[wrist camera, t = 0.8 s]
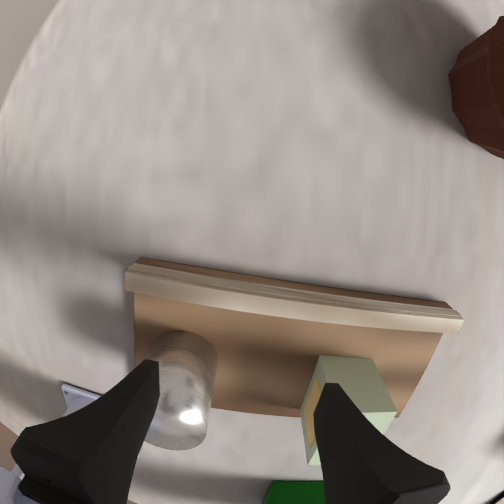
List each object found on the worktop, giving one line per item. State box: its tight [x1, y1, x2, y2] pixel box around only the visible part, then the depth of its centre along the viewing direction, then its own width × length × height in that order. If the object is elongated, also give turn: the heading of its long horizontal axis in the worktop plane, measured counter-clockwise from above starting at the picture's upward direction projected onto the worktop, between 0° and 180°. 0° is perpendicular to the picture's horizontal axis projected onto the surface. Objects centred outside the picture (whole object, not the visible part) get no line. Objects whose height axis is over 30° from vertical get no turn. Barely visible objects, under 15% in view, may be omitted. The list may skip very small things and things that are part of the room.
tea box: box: [300, 355, 397, 465], centre depth 20 cm, size 4×6×6 cm
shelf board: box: [125, 257, 464, 418], centre depth 22 cm, size 12×24×3 cm, turn 81°
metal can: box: [144, 330, 218, 450], centre depth 19 cm, size 5×5×7 cm
